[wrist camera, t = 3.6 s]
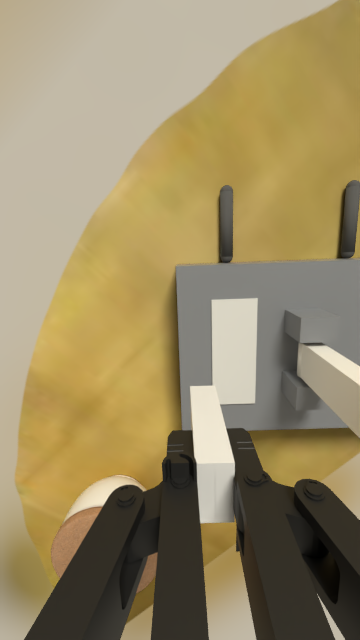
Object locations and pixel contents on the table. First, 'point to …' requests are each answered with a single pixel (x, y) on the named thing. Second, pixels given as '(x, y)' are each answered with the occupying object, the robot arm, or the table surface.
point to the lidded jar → (83, 519)
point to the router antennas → (352, 197)
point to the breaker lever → (332, 380)
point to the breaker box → (264, 336)
